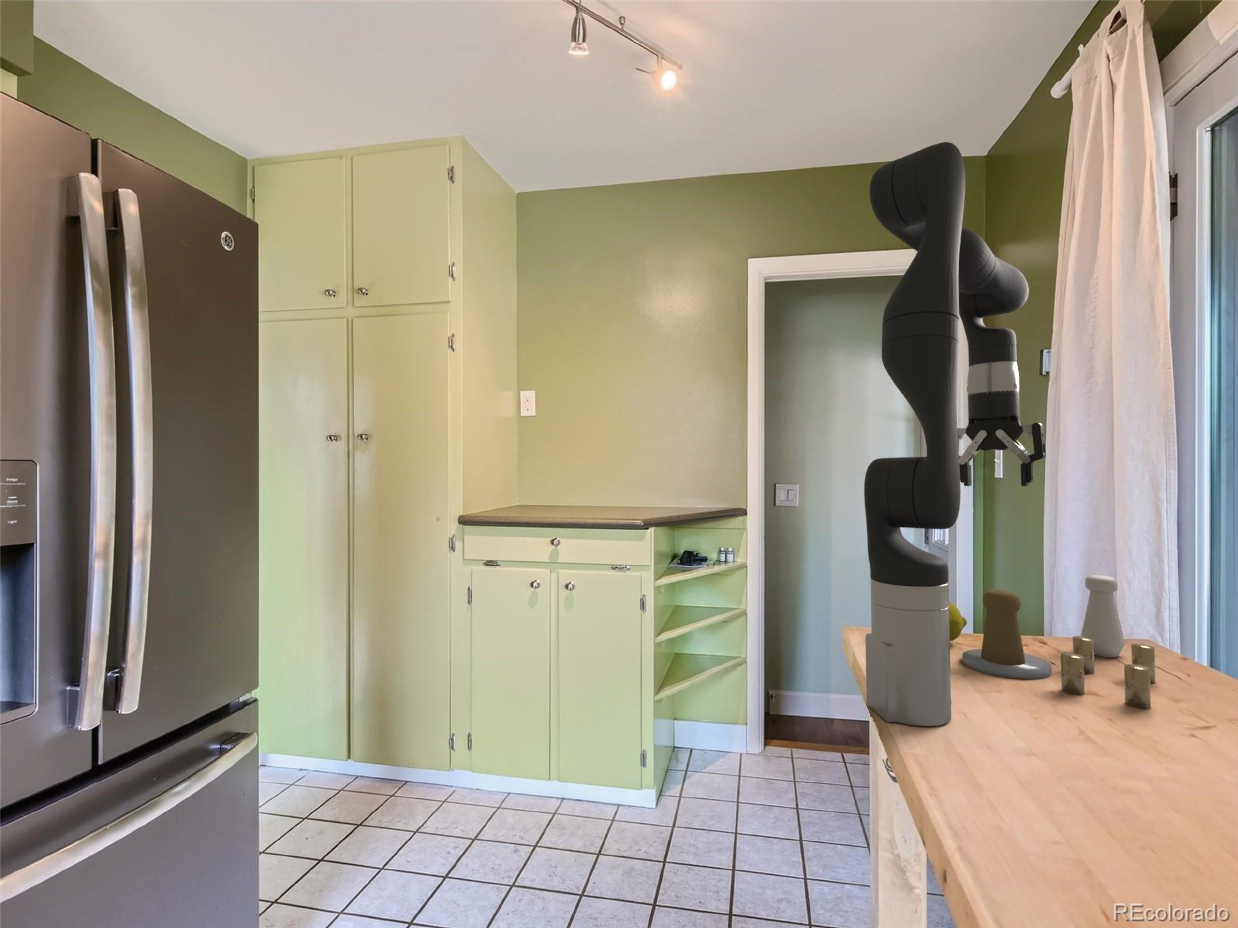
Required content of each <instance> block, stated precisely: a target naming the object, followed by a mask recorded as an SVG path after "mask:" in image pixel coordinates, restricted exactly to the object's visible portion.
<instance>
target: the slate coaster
mask: <svg viewBox="0 0 1238 928" xmlns="http://www.w3.org/2000/svg"><path fill="white" fill-rule="evenodd" d="M981 651H982V648H974V649H969V650H966V651H964V652H963V653H962V658H961V659H962V660H961V661H962V663H963V665H965V666H966V665H967V666H966V667H968V668H969V667H970V668H969V669H972V670H974V671H977V672H980V673H984V674H986V675H987V674H988V675H991V676H995V677H1003V678H1009V679H1016V680H1019V679H1020V680H1040V679H1045V678H1048V677H1050V676H1051V675H1053V666H1052V663H1050V662H1049V661H1047V660H1046V659H1043V658H1041V657H1039V656H1035V655H1031V654H1029V653H1024V656H1025V664H1022V665H1002V664H996V663H992V662H989V661H986V660H984V659H982V658H981Z"/></svg>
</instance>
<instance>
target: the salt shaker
mask: <svg viewBox="0 0 1238 928" xmlns="http://www.w3.org/2000/svg"><path fill="white" fill-rule="evenodd" d="M1084 584H1085V589H1087V590H1089V594H1088V595H1089V596H1088V600H1087V601H1088V602H1087V606H1086V611H1085V615H1084V620H1083V625H1082V629H1081V633H1080V636H1082V637H1088V638H1092V639H1094V656H1097V657H1103V658H1104V657H1105V658H1116V657H1119V656H1120V654H1121V653H1122V651H1123V649H1124V648H1125V645H1126V641H1125V636H1124V633H1123V629H1122V625H1121V623H1122V622H1121V620H1120V619H1121V618H1120V616H1119V613H1118V608H1117V604H1116V603H1117V602H1116V599H1115V595H1114V592H1117V591H1118V589H1119V588H1118V587H1119V585H1118V581H1117V580H1116V579H1115V578H1114V577H1111V576H1109V575H1100V574H1098V575H1097V574H1095V575H1094V574H1093V575H1088V576H1086V577H1085V581H1084Z"/></svg>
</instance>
